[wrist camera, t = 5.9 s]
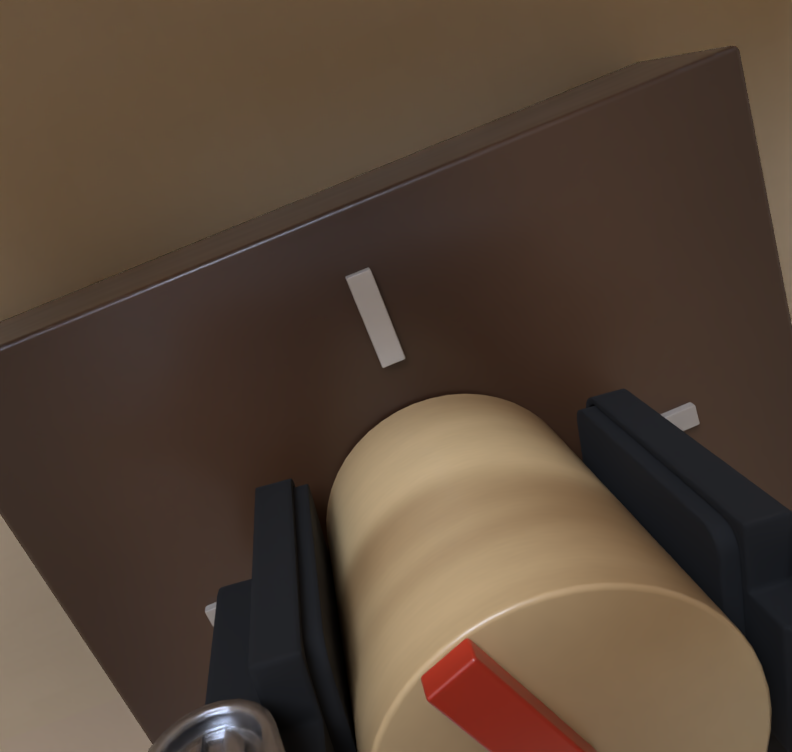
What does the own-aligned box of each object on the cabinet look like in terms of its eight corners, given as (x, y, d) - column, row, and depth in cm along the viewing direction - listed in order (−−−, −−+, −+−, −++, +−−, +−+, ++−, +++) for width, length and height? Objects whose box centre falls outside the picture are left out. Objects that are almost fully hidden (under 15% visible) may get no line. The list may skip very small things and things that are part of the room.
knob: (624, 508, 12) (867, 768, 7) (442, 664, 13) (554, 1014, 8) (468, 337, 11) (635, 516, 6) (270, 519, 11) (270, 829, 6)
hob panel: (240, 741, 16) (233, 879, 13) (-11, 325, 13) (-96, 386, 10) (749, 523, 17) (853, 610, 14) (639, 60, 13) (748, 40, 10)
